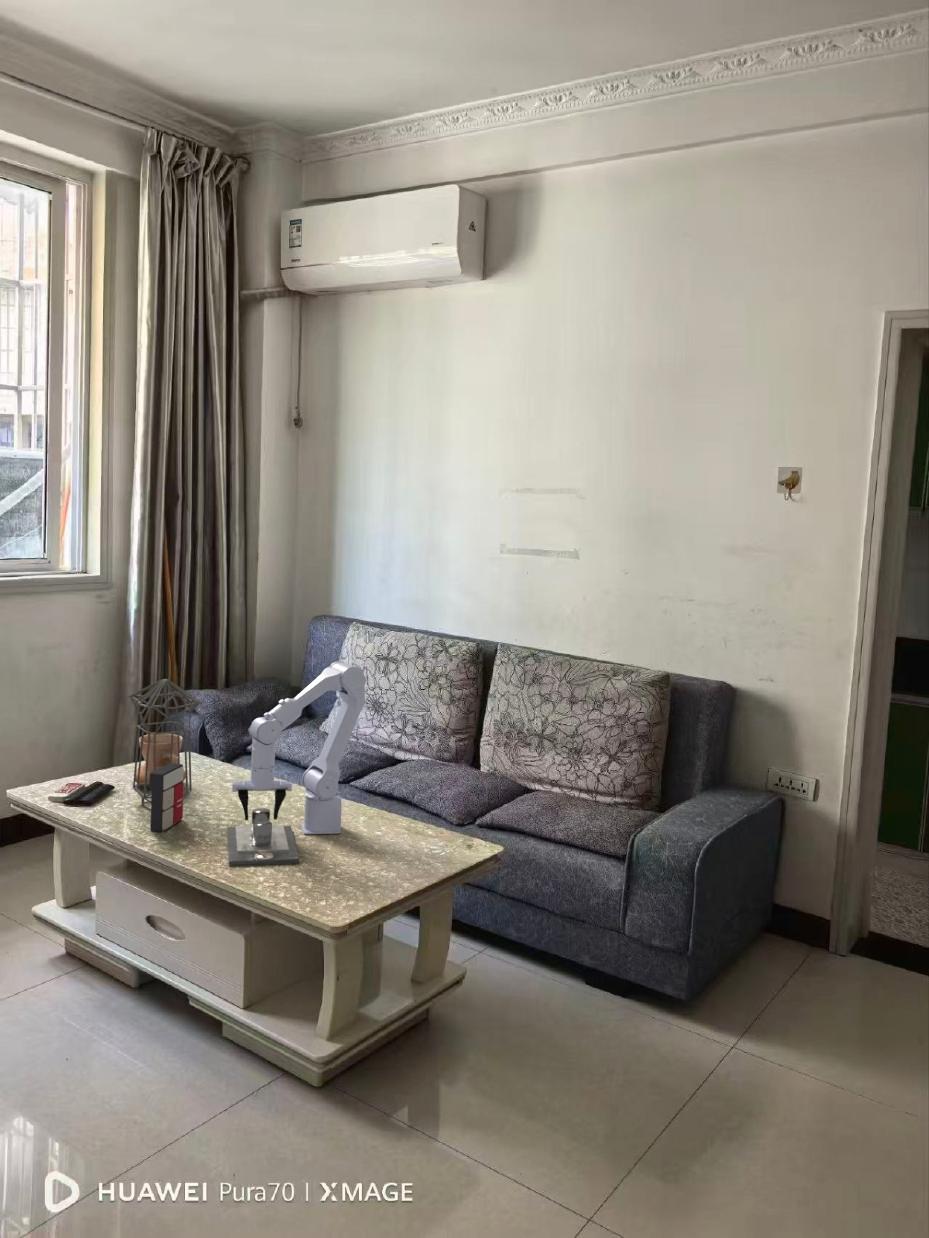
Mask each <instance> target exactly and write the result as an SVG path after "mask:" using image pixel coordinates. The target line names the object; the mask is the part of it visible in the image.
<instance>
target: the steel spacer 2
mask: <svg viewBox="0 0 929 1238" xmlns="http://www.w3.org/2000/svg"><path fill="white" fill-rule="evenodd" d="M272 825H273V823H272V822H271V821H270V822H269V821H257V822H255V823H254V827H253V845H254V846H257V847H266V846H270V845H271V840H272Z"/></svg>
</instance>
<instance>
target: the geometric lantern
mask: <svg viewBox="0 0 929 1238" xmlns="http://www.w3.org/2000/svg"><path fill="white" fill-rule="evenodd" d="M161 691H162V693H161ZM168 691H169V693H168ZM144 692H146V693H144ZM142 693H144V695H143V694H142ZM160 693H161V694H160ZM140 694H142V695H140ZM177 694H179V695H181V697H182V700H183V703H184V704H183V705H179V704H178V702H177V700H176V697H175V696H177ZM168 696H170V697H169V698H168ZM158 697H160V698H161V699H160V704H158V705H156V704H155V703H156V702H157V700H158ZM129 698H130V701H131V702H132V704H133V706H134V713H135V714H136V713H137V715H139V721H140V724H138V725H136V727H137V738H136V746H135V747H136V748H135V761H134V772H133V781H132V783H133V784H132V789H133V791H135V792H136V793H137V794H138V795H139V796H140V798H141V805H140V806H142V807H144V808H145V809H147V810H149V811H151V807H149V806H147V805H145V804H151V800H150V799H151V793H150V794H147V788H146V785H149V784H150V783H147V772H148V759H149V746H150V734H152V735H154V771H155V770H156V735H157V734H171V751H170V763H172V750H173V734H174V735H175V734H176V735H177V740H178V757H177V758H178V764H181V759H180V758H181V756H180V755H181V749H180V740H179V736H180V733H183V737H184V738H183V739H184V740H183V744H184V745H183V747H184V770H185V775H186V778H185V784H184V788H185V792H184V793H183V799H184V798H185V797H186V796H188V795H190V793H192V789H193V787H192V785H193V784H192V761H191V759H192V758H191V757H192V756H191V755H192V754H191V750H192V749H191V715H192V712H193V711H194V710H196V708H197V707H199V705H201V704H202V701H200V700H199V699H198V698H196V697H194V696H193V694H190V693H189V692H187V691H186V690H184V689H183V688H182V687H180V686H179V685H177V684H176V683H174V682H173V681H171V680H170V679H167V678H164V679H160V680H158V681H155V682H154V683H152V684H150V685H148V686H146V687H144V688H142V689H140V690H138V691H136V692H134V693H131V695H128V696H126V699H129ZM154 698H155V699H154ZM147 699H149V700H148V701H146V700H147ZM153 700H154V701H153ZM163 700H164V703H163ZM171 700H173V703H174V705H175V706H168V703H169V702H170V701H171ZM143 703H144V704H143ZM140 706H141V707H143V709H142V711H140ZM161 708H162V709H164V711H165V713H164V712H163V711H162V710H160V709H161ZM181 708H183V710H182V711H181V712H179V713H178V709H181ZM151 709H153V710H155V711H156V712H158V713H159V714H160V715H162V716H164V717H165V719H164V720H163V721H162V722H161V721H160V722H150V723H146V720H147V717H148V715H149V712H150V710H151ZM146 710H147V711H146ZM168 710H175V715H174V714H173V715H171V714H170V712H169V711H168ZM145 711H146V713H145V715H144V717H143V714H144V712H145ZM186 712H189V716H188V717H189V718H188V719H189V721H188V727H186V726H185V725H183V723H182V722H183V721H182V718H183V716H184V714H185V713H186ZM174 718H177V721H176V720H175V719H174ZM167 719H171V720H172V721H167ZM169 723H170V724H171V731H167V732H166V731H164V732H158V731H159V730H160V728H161V727H162V726H163V725H164V724H169ZM150 725H159V726H158V728H157V729H156V730H155V731H154V732H151V731H149V729H148V726H150ZM175 725H176V726H177V729H176V731H174V730H175ZM180 726H181V728H182V730H180ZM140 733H141V734H140ZM145 734H146V735H148V745H147V758H146V762H145V763H146V771H145V783H142V784H139V778H140V768H141V766H142V759H143V755H142V748H143V738H144V735H145ZM140 735H141V736H140ZM140 737H142V738H141V748H140V745H139V738H140ZM187 739H188V741H187ZM187 743H188V745H187ZM187 746H188V751H187ZM139 749H140V750H139ZM138 757H139V758H138ZM137 766H138V768H137ZM137 769H138V778H137V783H136V782H135V781H136V770H137ZM188 778H189V779H188ZM142 785H144V787H143V786H142ZM140 787H143V792H142V790H141V789H140ZM145 800H146V801H145Z"/></svg>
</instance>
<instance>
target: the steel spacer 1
mask: <svg viewBox="0 0 929 1238" xmlns="http://www.w3.org/2000/svg"><path fill="white" fill-rule="evenodd" d="M270 816H271V811H270V809H268V808H262V807H259V808H254V809H252V810H251V826H252V832H253V827H254V823H255V822H257V821H269V822H271V821H270V820H271V819H270V818H271V817H270Z"/></svg>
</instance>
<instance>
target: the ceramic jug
mask: <svg viewBox="0 0 929 1238" xmlns="http://www.w3.org/2000/svg"><path fill="white" fill-rule="evenodd" d="M171 734H172V733H168V734H157V735H156V770H157V769H159V768H161V767H163V766H165V765H167V764H169V763H170V751H171ZM141 738H142V736H140V737H139V749H140V748H141ZM183 739H184V738H183V736H181V735H179V740H180V750H181V748H182V746H183V742H184V740H183ZM147 745H148V734H146V735H145V734H144V738H143V748H142V759H144V762H145V763H144V764H141V768H140V778H139V784H142V783H145V771H146V758H147ZM172 763H176V764H178V740H177V734H175V733H174V734H173V750H172ZM153 771H154V735H152V734H150V746H149V759H148V772H147V783H150V773H151V772H153ZM137 778H138V768H137V770H136V781H135V784H137ZM184 781H186V775H185V769H184V771H183V782H184ZM141 787H143V788H144V785H142V786H141ZM146 789H150V787H149V785H146Z"/></svg>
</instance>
